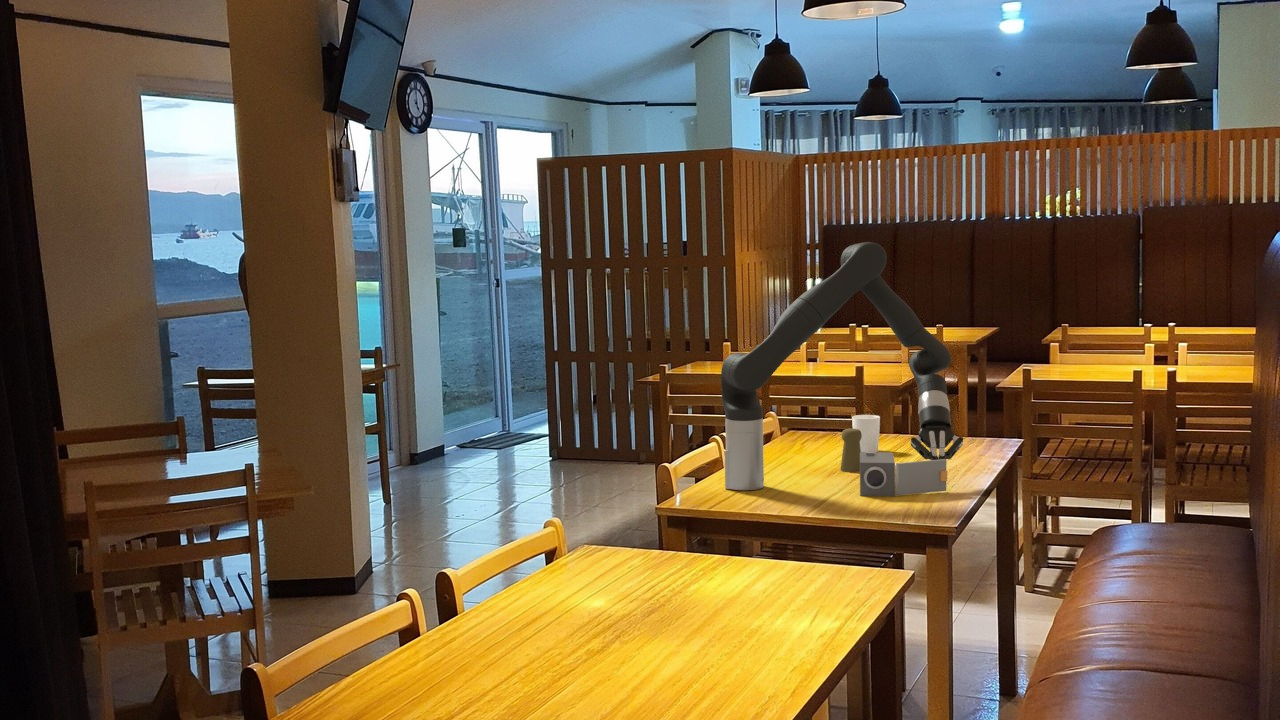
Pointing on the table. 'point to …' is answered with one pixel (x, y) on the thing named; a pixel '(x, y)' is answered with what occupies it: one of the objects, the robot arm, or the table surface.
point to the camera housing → (877, 474)
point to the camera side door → (920, 477)
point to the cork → (851, 450)
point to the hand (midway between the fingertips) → (939, 472)
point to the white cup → (867, 431)
